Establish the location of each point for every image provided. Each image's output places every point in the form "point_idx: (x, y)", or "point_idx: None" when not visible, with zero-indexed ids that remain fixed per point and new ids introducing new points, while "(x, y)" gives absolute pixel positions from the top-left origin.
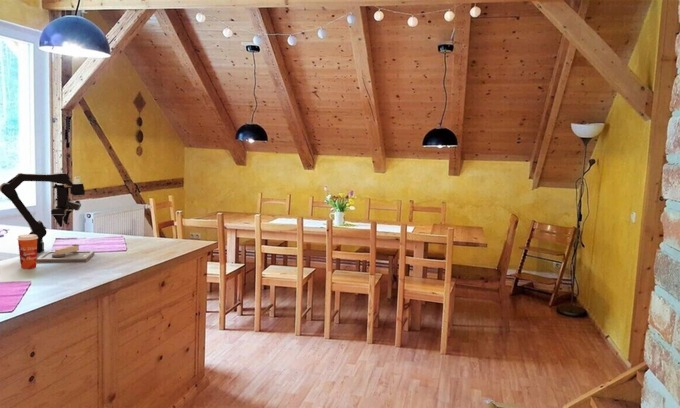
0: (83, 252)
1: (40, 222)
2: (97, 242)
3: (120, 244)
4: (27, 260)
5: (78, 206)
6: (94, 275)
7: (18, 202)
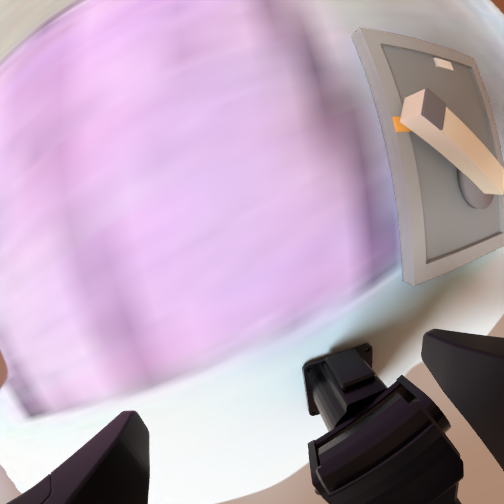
0: (390, 78)
1: (455, 480)
2: (16, 173)
3: (69, 24)
4: None
5: None
6: None
7: None
